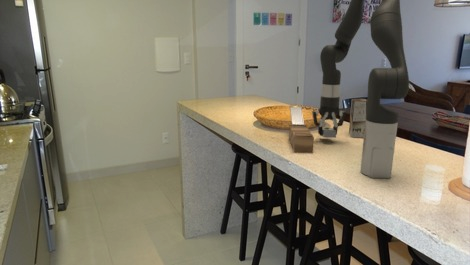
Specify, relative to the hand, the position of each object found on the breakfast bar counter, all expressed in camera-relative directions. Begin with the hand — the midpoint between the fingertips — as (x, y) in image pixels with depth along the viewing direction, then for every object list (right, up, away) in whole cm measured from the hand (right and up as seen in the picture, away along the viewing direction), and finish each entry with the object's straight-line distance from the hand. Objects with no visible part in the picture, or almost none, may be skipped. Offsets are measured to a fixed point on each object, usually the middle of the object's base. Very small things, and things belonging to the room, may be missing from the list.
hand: (327, 135), depth 146 cm
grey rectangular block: (0, 0, 0) cm, 0 cm away
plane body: (-12, -4, -6) cm, 14 cm away
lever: (-12, +4, +1) cm, 13 cm away
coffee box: (+16, 0, +11) cm, 19 cm away
